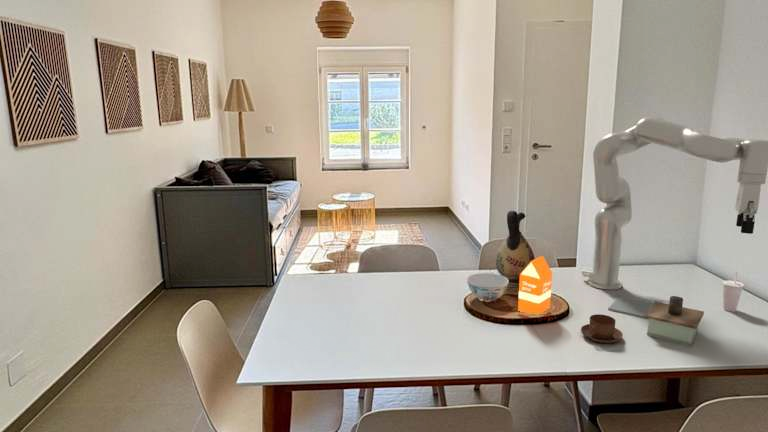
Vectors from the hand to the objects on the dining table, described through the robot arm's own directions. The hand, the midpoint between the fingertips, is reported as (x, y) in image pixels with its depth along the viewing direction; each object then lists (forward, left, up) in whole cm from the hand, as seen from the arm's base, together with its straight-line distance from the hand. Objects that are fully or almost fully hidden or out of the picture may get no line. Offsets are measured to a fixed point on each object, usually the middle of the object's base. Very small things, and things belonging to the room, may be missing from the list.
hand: (744, 229), depth 172 cm
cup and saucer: (-30, -45, -30) cm, 62 cm away
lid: (-13, -29, -24) cm, 40 cm away
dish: (-13, -29, -30) cm, 43 cm away
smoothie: (-1, +4, -30) cm, 30 cm away
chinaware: (-73, -38, -30) cm, 88 cm away
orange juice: (-54, -40, -30) cm, 74 cm away
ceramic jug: (-73, -15, -30) cm, 80 cm away
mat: (-27, -14, -30) cm, 43 cm away
